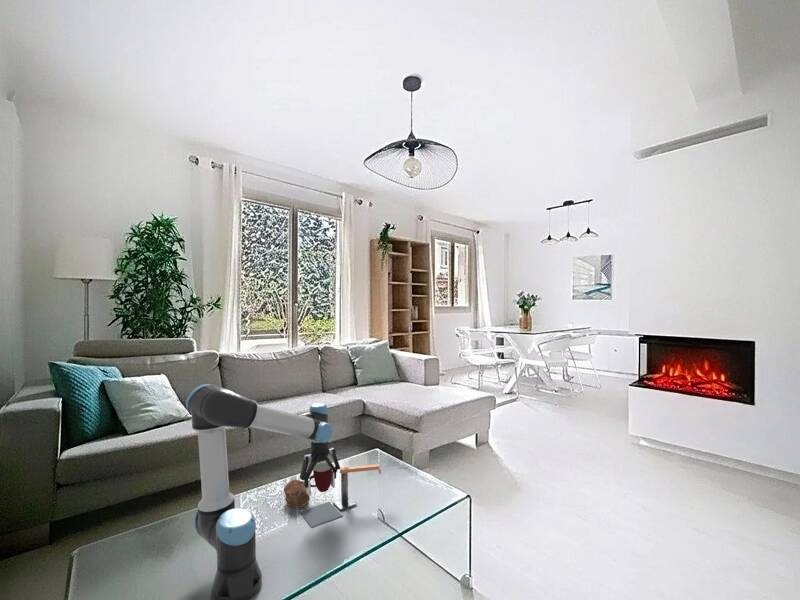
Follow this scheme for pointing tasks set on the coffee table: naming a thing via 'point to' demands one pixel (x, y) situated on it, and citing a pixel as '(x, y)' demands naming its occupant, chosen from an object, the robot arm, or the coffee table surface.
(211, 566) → the coffee table surface
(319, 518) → the mat
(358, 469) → the ball-ended drumstick
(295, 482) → the decorative rock
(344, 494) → the clip post
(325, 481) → the mug
